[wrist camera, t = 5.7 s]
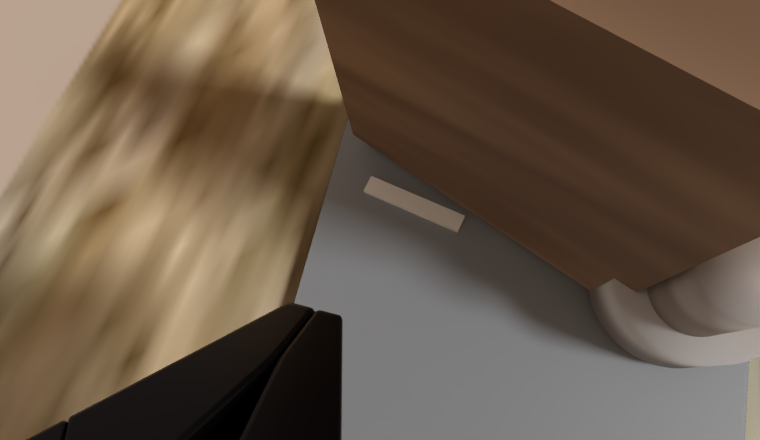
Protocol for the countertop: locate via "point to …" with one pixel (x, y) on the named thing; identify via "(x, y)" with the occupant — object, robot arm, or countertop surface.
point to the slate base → (481, 329)
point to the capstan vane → (584, 145)
